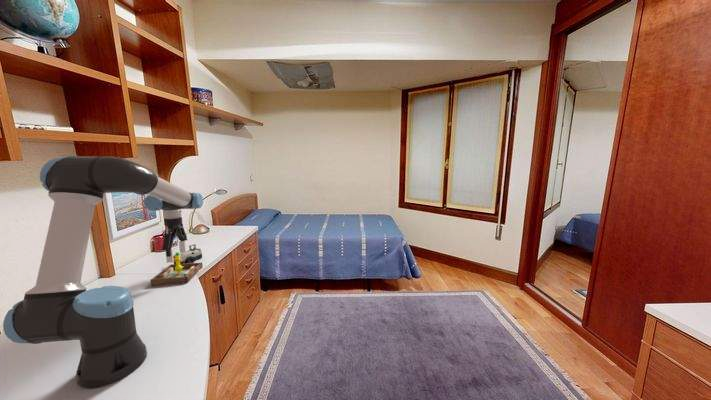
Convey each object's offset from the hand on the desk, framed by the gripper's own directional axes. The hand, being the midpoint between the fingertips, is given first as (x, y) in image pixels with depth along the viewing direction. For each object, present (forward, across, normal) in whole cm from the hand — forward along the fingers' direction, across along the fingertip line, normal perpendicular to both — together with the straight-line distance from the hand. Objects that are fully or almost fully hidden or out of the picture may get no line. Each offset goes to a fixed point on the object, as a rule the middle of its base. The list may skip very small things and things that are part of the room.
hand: (177, 257), depth 134 cm
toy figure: (+10, 0, +1) cm, 10 cm away
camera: (+11, +20, +3) cm, 23 cm away
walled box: (+11, 0, 0) cm, 11 cm away
